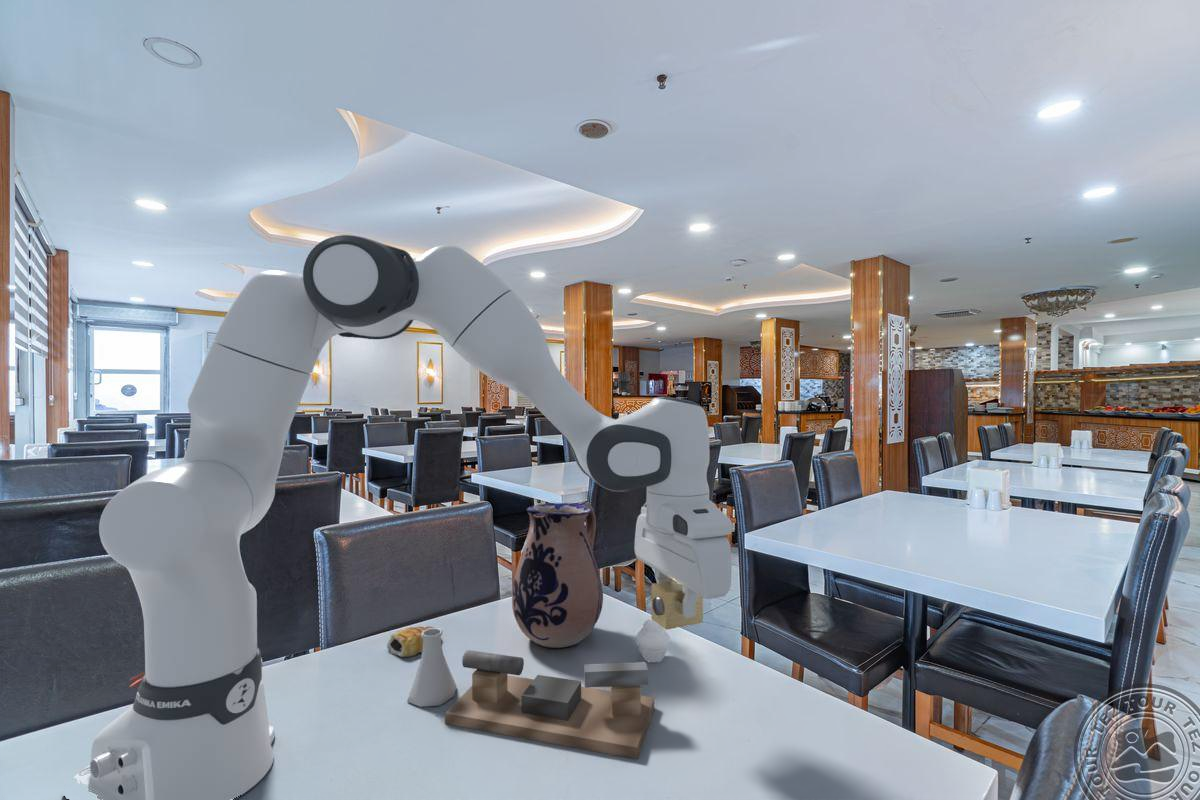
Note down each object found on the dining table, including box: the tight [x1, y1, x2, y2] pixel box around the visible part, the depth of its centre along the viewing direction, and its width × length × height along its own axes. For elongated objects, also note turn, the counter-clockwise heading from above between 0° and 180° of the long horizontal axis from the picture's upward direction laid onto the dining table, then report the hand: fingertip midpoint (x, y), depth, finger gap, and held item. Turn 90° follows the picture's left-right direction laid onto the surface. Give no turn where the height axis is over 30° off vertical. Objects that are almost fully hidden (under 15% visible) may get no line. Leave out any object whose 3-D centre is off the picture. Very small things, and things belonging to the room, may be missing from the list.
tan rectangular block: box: [651, 580, 704, 630], centre depth 78 cm, size 7×4×5 cm, turn 114°
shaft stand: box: [444, 649, 655, 760], centre depth 80 cm, size 28×12×8 cm, turn 74°
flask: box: [407, 627, 457, 708], centre depth 85 cm, size 7×7×10 cm
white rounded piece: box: [635, 618, 671, 663], centre depth 97 cm, size 6×6×7 cm
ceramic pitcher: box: [511, 501, 604, 649], centre depth 107 cm, size 18×21×25 cm
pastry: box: [386, 625, 435, 658], centre depth 102 cm, size 9×7×4 cm
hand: (676, 608), depth 78 cm, fingers closed on tan rectangular block, 4 cm apart
